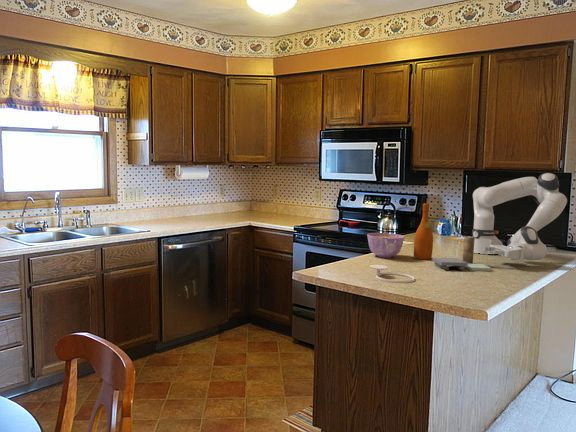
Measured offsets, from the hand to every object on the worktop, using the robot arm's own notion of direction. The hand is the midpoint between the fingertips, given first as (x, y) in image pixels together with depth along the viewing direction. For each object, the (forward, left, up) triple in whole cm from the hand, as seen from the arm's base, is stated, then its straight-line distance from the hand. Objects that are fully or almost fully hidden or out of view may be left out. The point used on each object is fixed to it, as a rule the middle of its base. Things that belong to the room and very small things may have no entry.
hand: (489, 250), depth 255 cm
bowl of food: (+42, -32, -8) cm, 53 cm away
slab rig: (+27, +2, -7) cm, 28 cm away
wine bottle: (+24, -23, -8) cm, 34 cm away
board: (+14, +7, -7) cm, 17 cm away
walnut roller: (+10, -4, -7) cm, 13 cm away
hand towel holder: (+69, +13, -8) cm, 71 cm away
